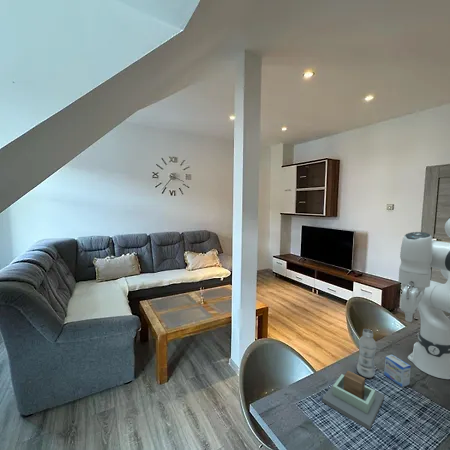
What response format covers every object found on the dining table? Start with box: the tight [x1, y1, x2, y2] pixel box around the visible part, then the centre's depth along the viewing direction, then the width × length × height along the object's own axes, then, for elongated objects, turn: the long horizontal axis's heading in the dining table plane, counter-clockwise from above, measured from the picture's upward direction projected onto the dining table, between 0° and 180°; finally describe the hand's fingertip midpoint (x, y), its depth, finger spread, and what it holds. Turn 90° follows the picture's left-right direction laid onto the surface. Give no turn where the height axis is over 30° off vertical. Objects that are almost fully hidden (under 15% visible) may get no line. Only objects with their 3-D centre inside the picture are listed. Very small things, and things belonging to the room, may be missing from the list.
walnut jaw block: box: [343, 370, 366, 400], centre depth 92 cm, size 4×6×8 cm, turn 44°
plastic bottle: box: [356, 328, 378, 379], centre depth 105 cm, size 6×7×20 cm
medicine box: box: [383, 354, 412, 388], centre depth 103 cm, size 8×4×9 cm, turn 21°
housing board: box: [321, 373, 385, 431], centre depth 93 cm, size 18×16×5 cm
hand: (411, 316), depth 88 cm, fingers open, 8 cm apart
